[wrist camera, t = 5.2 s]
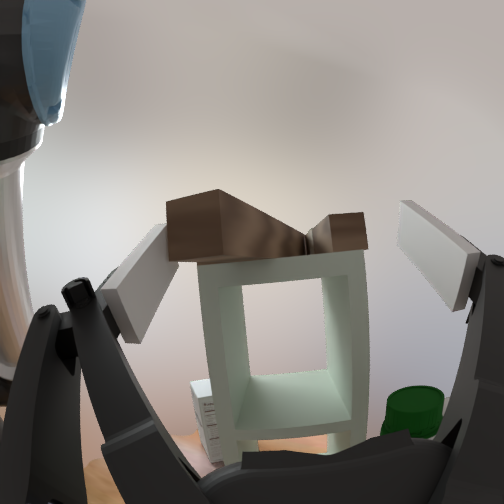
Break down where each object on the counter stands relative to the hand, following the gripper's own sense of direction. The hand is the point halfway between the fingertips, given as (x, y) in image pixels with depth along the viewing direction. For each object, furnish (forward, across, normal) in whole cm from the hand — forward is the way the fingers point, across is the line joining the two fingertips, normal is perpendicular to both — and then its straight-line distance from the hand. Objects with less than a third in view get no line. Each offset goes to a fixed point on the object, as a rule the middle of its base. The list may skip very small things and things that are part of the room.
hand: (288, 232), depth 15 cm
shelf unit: (-4, 0, -34) cm, 34 cm away
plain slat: (+10, -1, -7) cm, 12 cm away
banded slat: (+11, +5, -8) cm, 14 cm away
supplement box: (+6, -12, -40) cm, 42 cm away
